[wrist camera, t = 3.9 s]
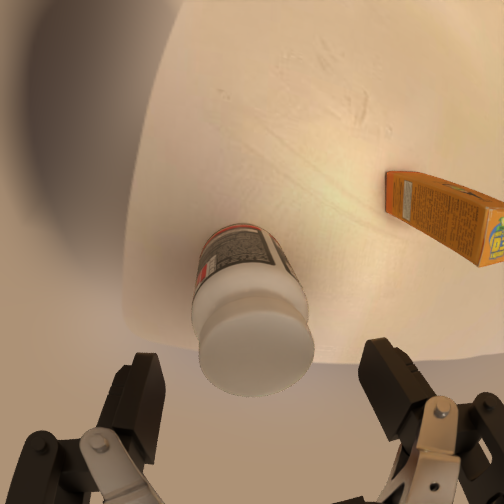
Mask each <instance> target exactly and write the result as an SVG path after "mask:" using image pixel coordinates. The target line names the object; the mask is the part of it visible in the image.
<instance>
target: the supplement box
mask: <svg viewBox="0 0 504 504" xmlns="http://www.w3.org/2000/svg"><path fill="white" fill-rule="evenodd" d="M386 212H387V213H389V214H391V215H393V216H395V217H397V218H399V219H401V220H402V221H404V222H406V223H408V224H409V225H411V226H413V227H415V228H416V229H418V230H420V231H422V232H423V233H425V234H427V235H429V236H430V237H432V238H434V239H435V240H437V241H438V242H440V243H442V244H443V245H445V246H447V247H449V248H450V249H452V250H453V251H455V252H457V253H458V254H460V255H461V256H463V257H464V258H466V259H467V260H469V261H470V262H472V263H473V264H475V265H476V266H477V267H479V268H480V267H484V266H487V265H491V264H495V263H499V262H503V261H504V202H502V201H499V200H497V199H495V198H492V197H490V196H488V195H485V194H483V193H480V192H477V191H475V190H472V189H469V188H467V187H464V186H461V185H458V184H455V183H453V182H450V181H447V180H444V179H440V178H437V177H434V176H431V175H427V174H424V173H420V172H406V171H389V172H387V181H386Z"/></svg>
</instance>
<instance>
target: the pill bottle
mask: <svg viewBox="0 0 504 504" xmlns="http://www.w3.org/2000/svg"><path fill="white" fill-rule="evenodd" d="M308 315H309V310H308V303H307V299H306V295H305V293H304V291H303V288H302V286H301V285H300V283H299V281H298V279H297V277H296V275H295V273H294V271H293V269H292V268H291V266H290V264H289V262H288V260H287V258H286V256H285V254H284V252H283V251H282V249H281V247H280V245H279V244H278V242H277V241H276V240H275V238H274V237H273V236H271V235H270V234H269V233H268V232H266V231H265V230H263V229H261V228H259V227H256V226H252V225H245V224H240V225H233V226H229V227H226V228H224V229H222V230H220V231H218V232H217V233H215V234H214V235H213V236H212V237H211V238H210V239H209V240H208V242H207V243H206V244H205V246H204V248H203V250H202V253H201V256H200V260H199V266H198V272H197V278H196V284H195V291H194V297H193V302H192V313H191V320H192V326H193V330H194V333H195V335H196V337H197V339H198V340H199V363H200V367H201V369H202V372H203V373H204V375H205V376H206V378H207V379H208V380H209V381H210V382H211V383H212V384H213V385H214V386H216V387H218V388H219V389H221V390H223V391H225V392H227V393H230V394H233V395H237V396H244V397H261V396H268V395H271V394H275V393H278V392H280V391H283V390H285V389H287V388H289V387H290V386H292V385H293V384H295V383H296V382H297V381H299V380H300V379H301V378H302V377H303V376H304V374H305V373H306V372H307V370H308V369H309V367H310V365H311V363H312V361H313V357H314V341H313V338H312V335H311V332H310V330H309V327H308V325H307V323H308Z"/></svg>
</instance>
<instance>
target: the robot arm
mask: <svg viewBox="0 0 504 504" xmlns="http://www.w3.org/2000/svg"><path fill="white" fill-rule="evenodd" d="M358 376H359V381H360V383H361V385H362V387H363V389H364V391H365V393H366V395H367V397H368V399H369V401H370V403H371V405H372V407H373V409H374V411H375V414H376V416H377V418H378V420H379V422H380V424H381V426H382V428H383V430H384V432H385V434H386V436H387V438H388V440H389V442H390V441H393V440H396V439H400V441H401V444H400V446H399V449H398V452H397V455H396V458H395V461H394V464H393V467H392V470H391V473H390V476H389V478H388V481H387V484H386V486H385V487H384V489H383V491H382V492H381V494H380V495H379V497H378V499H377V501H376V502H365V501H364V498H363V496H360V497H356V498H353V499H349V500H345V501H341V502H337V503H333V504H453V501H454V496H455V492H456V486H457V482H458V479H459V482H460V484H461V486H462V488H463V491H464V493H465V495H466V498H467V500H468V502H469V504H504V405H503V403H502V402H501V400H500V399H499V398H498V397H497V396H496V395H494V394H492V393H488V392H483V393H480V394H479V395H477V397H476V398H475V400H474V401H473V403H467V404H458V405H457V404H456V403H455V402H454V401H453V400H451V399H450V398H448V397H445V396H437V395H436V394H435V392H434V391H433V390H432V388H431V387H430V385H429V384H428V382H427V381H426V380H425V378H424V377H423V375H422V374H421V373H420V371H418V369H417V367H416V366H415V364H413V362H412V360H411V359H410V358H409V356H408V355H407V354H406V353H405V352H403V351H402V350H400V349H399V348H397V347H396V348H394V347H393V346H392V345H391V343H390V342H389V341H388V339H387V338H385V337H383V338H377V339H371V340H367V341H366V343H365V347H364V350H363V354H362V358H361V361H360V365H359V369H358ZM165 392H166V389H165V381H164V377H163V374H162V370H161V366H160V362H159V359H158V356H157V354H156V353H136V355H135V357H134V360H133V363H132V365H124V366H123V367H122V368H121V369H120V370H119V371H118V372H117V373H116V375H115V377H114V380H113V383H112V386H111V387H110V390H109V395H107V398H106V401H105V404H104V406H103V409H102V412H101V415H100V418H99V421H98V424H97V426H96V427H95V428H92V429H90V430H88V431H87V432H85V433H84V435H83V436H82V437H81V438H80V439H70V440H57V439H56V438H55V436H54V435H53V434H52V433H50V432H48V431H36V432H34V433H32V434H31V435H30V436H29V437H28V438H27V439H26V441H25V444H24V446H23V449H22V452H21V455H20V457H19V460H18V463H17V466H16V469H15V472H14V475H13V478H12V482H11V485H10V488H9V492H8V496H7V499H6V503H5V504H89V502H90V497H91V492H99V491H100V492H101V494H102V496H103V498H104V501H103V504H165V503H164V502H163V501H162V499H161V498H160V497H159V495H158V494H157V493H156V491H155V490H154V489H153V487H152V486H151V484H150V483H149V482H148V480H147V479H146V477H145V476H144V474H143V469H144V464H154V460H155V453H156V447H157V441H158V440H157V439H158V434H159V428H160V422H161V417H162V411H163V405H164V400H165ZM481 438H482V439H483V441H484V442H485V444H486V446H487V447H488V449H489V451H490V453H491V455H492V463H491V464H490V463H489V461H488V459H487V457H486V455H485V454H484V452H483V450H482V448H481V446H480V444H479V443H478V442H479V441H480V439H481Z"/></svg>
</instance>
